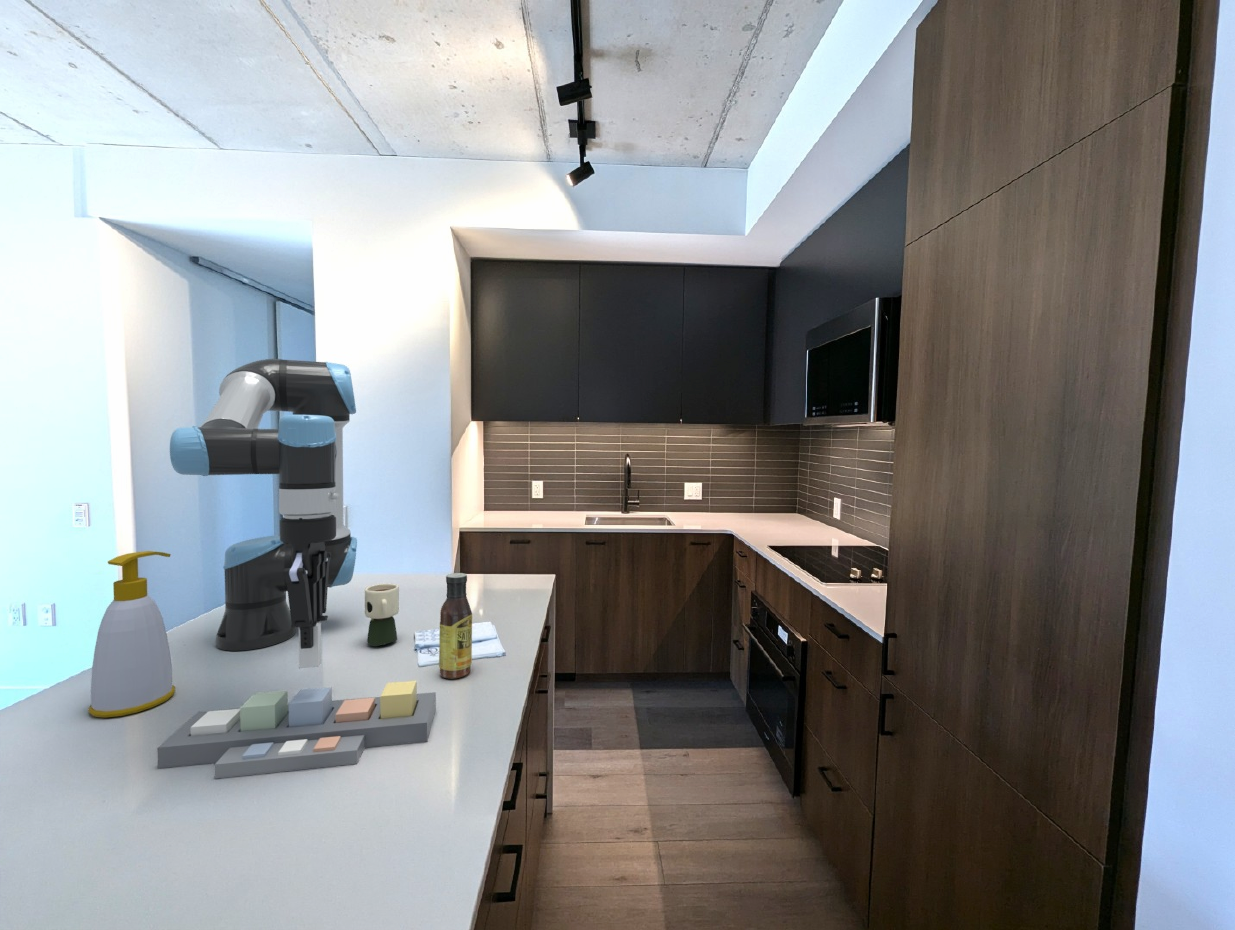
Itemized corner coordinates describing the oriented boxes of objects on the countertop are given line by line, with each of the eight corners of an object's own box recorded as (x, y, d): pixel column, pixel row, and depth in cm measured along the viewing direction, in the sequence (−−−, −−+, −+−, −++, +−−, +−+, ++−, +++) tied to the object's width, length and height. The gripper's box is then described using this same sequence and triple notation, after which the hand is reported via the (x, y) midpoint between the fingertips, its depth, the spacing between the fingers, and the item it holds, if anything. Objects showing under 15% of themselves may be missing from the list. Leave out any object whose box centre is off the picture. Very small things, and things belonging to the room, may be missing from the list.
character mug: (363, 638, 122) (362, 583, 122) (396, 633, 126) (395, 579, 125) (367, 654, 113) (366, 595, 112) (402, 648, 117) (402, 591, 116)
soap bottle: (192, 693, 95) (189, 550, 94) (114, 725, 84) (109, 564, 83) (152, 683, 99) (148, 546, 98) (72, 712, 88) (67, 558, 87)
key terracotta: (344, 724, 85) (344, 700, 85) (375, 721, 86) (374, 697, 86) (335, 739, 81) (335, 714, 80) (367, 736, 81) (367, 711, 81)
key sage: (255, 717, 82) (254, 693, 82) (287, 715, 83) (287, 690, 83) (240, 733, 78) (240, 707, 78) (275, 730, 79) (274, 704, 79)
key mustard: (387, 706, 86) (387, 682, 86) (416, 704, 87) (416, 680, 87) (380, 721, 82) (380, 696, 82) (411, 718, 83) (411, 693, 83)
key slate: (300, 714, 84) (300, 689, 83) (332, 711, 85) (331, 687, 84) (288, 729, 79) (288, 703, 79) (322, 726, 80) (321, 701, 80)
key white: (208, 736, 81) (208, 711, 81) (242, 733, 82) (241, 708, 82) (191, 753, 77) (190, 727, 76) (226, 750, 78) (226, 724, 77)
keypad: (199, 730, 83) (198, 711, 83) (435, 709, 91) (435, 692, 90) (138, 786, 69) (137, 764, 69) (422, 756, 77) (422, 736, 77)
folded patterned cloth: (494, 627, 132) (494, 619, 132) (506, 659, 113) (506, 649, 113) (413, 637, 125) (413, 628, 125) (412, 671, 106) (412, 661, 106)
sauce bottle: (462, 682, 101) (462, 580, 100) (432, 678, 102) (432, 578, 101) (477, 667, 107) (477, 572, 106) (449, 664, 108) (449, 570, 108)
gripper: (320, 520, 75) (322, 682, 76) (347, 509, 88) (349, 648, 88) (261, 521, 73) (264, 686, 74) (298, 510, 86) (300, 651, 87)
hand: (310, 665), depth 81 cm, fingers closed
